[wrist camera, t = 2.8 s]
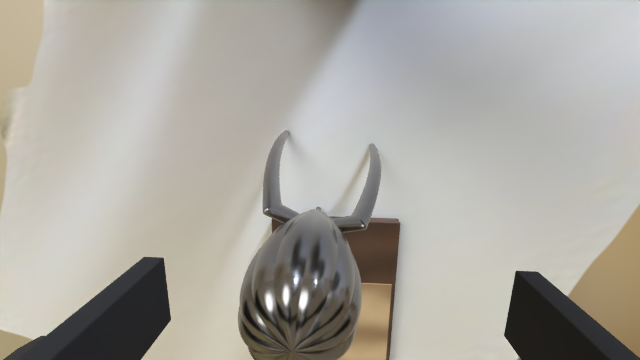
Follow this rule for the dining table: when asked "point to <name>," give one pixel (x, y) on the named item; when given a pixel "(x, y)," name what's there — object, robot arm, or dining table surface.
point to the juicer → (304, 276)
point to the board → (373, 286)
